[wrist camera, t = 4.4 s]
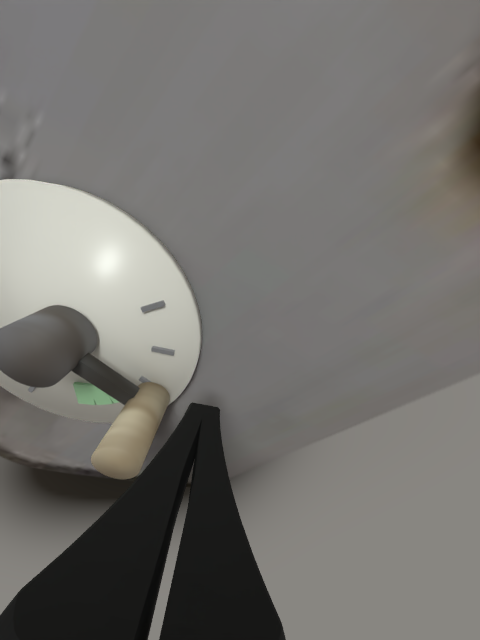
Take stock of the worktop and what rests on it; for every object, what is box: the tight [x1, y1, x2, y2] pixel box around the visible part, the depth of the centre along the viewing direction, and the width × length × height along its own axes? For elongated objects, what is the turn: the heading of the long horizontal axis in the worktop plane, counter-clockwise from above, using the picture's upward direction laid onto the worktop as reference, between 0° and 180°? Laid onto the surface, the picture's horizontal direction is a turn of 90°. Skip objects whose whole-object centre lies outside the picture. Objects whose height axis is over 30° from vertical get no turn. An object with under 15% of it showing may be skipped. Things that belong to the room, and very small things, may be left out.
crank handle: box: [0, 305, 170, 479], centre depth 12 cm, size 10×4×5 cm, turn 45°
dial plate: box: [0, 179, 202, 423], centre depth 14 cm, size 16×16×1 cm
